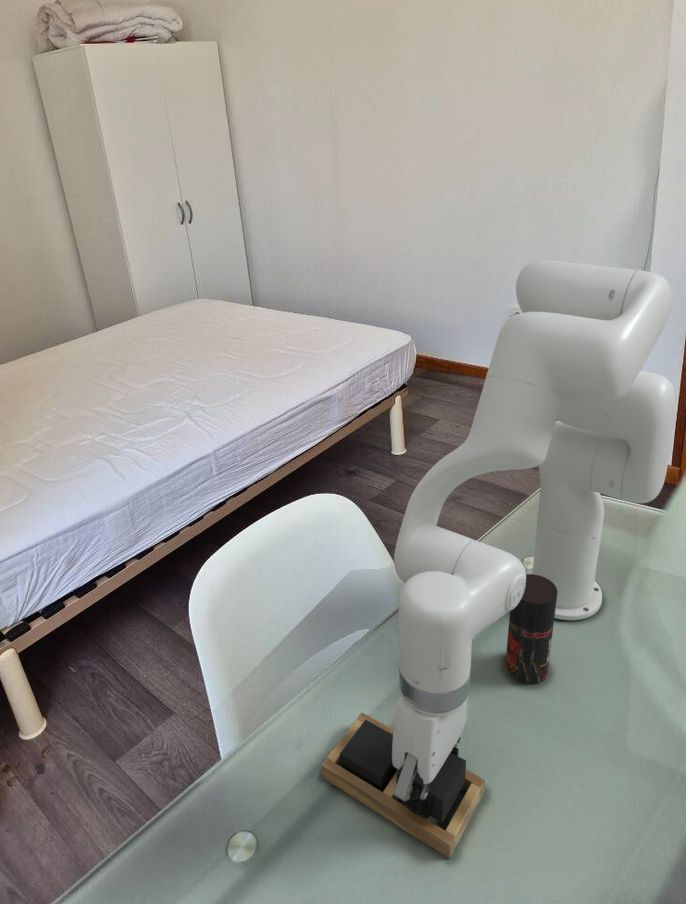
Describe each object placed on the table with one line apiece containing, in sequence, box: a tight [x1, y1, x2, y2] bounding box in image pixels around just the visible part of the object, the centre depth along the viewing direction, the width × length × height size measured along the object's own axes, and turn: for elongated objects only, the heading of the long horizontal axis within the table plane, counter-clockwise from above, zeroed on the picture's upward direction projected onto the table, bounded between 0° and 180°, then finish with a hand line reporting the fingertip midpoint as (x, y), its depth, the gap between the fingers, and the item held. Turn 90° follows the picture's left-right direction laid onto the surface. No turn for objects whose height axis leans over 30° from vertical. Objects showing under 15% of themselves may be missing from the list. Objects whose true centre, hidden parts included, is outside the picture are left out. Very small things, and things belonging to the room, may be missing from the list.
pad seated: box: [340, 720, 398, 792], centre depth 87 cm, size 6×6×4 cm
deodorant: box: [504, 574, 557, 686], centre depth 97 cm, size 6×6×15 cm
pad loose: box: [396, 752, 467, 824], centre depth 81 cm, size 6×6×4 cm
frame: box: [321, 712, 486, 859], centre depth 85 cm, size 9×18×2 cm, turn 53°
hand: (431, 786), depth 82 cm, fingers closed on pad loose, 6 cm apart
